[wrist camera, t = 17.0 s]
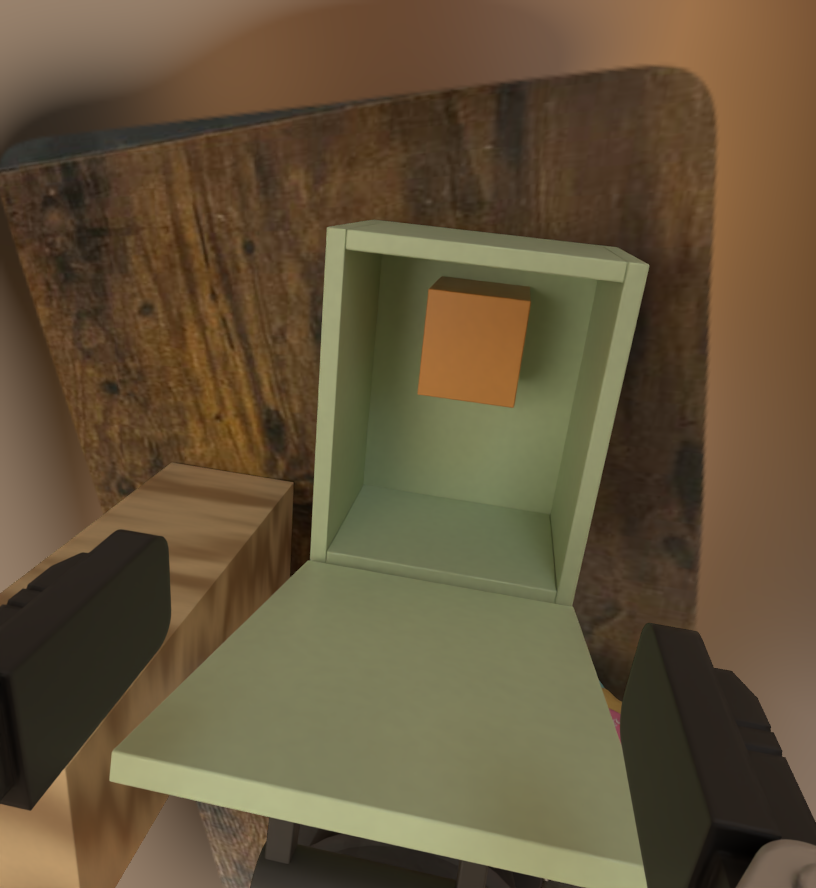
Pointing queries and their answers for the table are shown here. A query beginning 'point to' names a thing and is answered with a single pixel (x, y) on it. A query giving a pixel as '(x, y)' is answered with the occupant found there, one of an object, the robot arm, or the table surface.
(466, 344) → the orange rectangular box
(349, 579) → the lid
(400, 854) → the casserole
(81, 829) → the tall wooden pillar
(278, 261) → the table surface
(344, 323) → the chest
